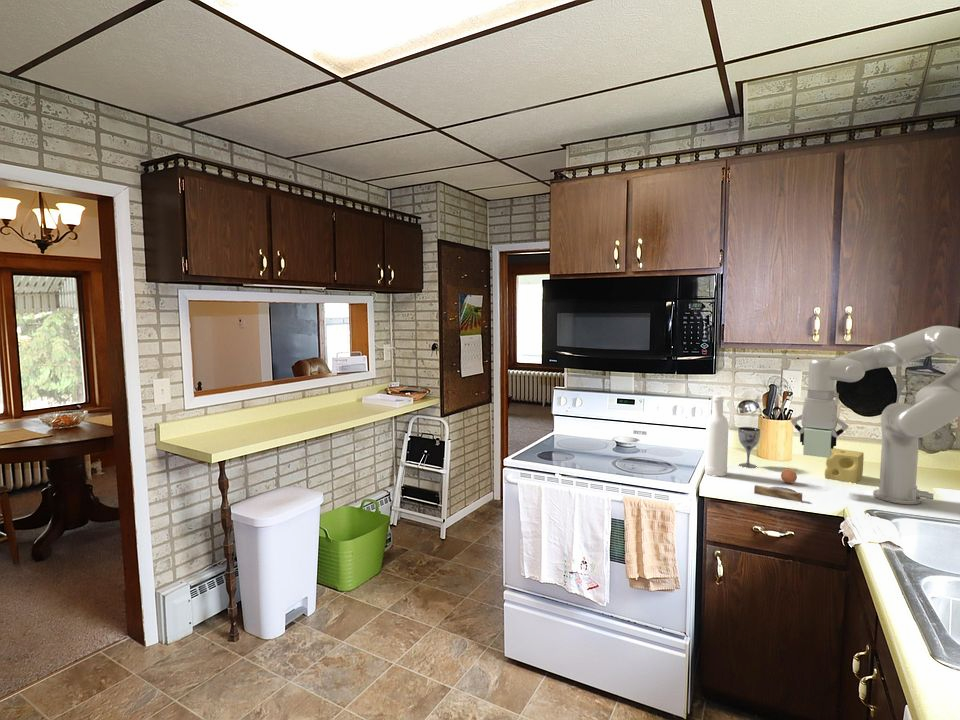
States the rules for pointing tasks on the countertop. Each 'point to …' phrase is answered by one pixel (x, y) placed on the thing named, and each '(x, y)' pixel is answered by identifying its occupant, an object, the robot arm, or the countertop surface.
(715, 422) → the bottle
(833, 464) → the cheese
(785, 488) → the spot
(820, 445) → the pale green cube
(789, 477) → the ball
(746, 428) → the wine glass
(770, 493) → the brown wooden bar
